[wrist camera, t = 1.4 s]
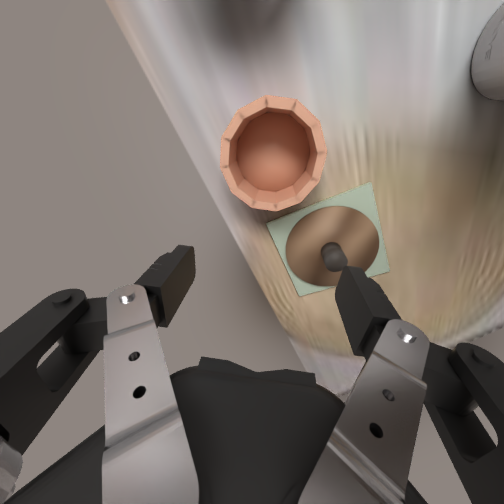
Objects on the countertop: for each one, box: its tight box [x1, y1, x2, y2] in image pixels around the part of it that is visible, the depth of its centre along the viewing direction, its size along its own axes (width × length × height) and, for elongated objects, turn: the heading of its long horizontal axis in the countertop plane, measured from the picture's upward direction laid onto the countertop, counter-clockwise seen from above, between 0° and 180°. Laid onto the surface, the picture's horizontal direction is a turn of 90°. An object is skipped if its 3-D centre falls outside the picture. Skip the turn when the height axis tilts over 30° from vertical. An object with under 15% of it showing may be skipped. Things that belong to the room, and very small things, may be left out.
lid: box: [286, 206, 379, 286], centre depth 32 cm, size 14×14×4 cm
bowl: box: [220, 95, 327, 211], centre depth 25 cm, size 11×11×6 cm
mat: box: [266, 182, 390, 296], centre depth 34 cm, size 15×15×1 cm
